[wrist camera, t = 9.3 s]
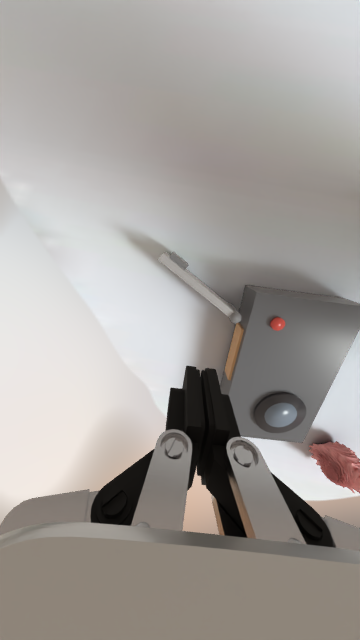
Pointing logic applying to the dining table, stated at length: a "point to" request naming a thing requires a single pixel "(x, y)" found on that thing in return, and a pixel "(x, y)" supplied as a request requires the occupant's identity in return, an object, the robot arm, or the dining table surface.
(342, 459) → the flower
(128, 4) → the dining table surface
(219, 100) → the dining table surface
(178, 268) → the port door
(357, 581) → the robot arm
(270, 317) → the camera body
